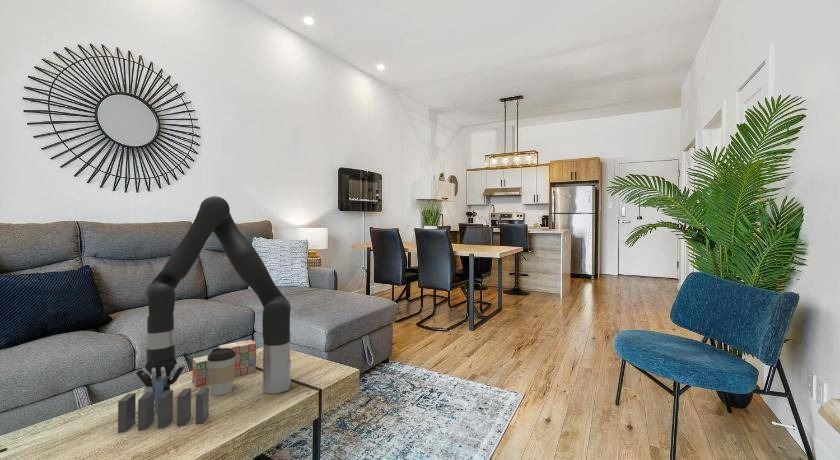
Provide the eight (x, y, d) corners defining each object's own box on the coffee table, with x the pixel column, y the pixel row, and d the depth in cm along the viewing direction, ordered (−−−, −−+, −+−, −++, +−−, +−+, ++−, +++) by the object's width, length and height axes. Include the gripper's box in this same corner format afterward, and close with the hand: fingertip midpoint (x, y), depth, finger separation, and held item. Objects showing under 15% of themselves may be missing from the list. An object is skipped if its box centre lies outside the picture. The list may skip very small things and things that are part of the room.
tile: (169, 401, 118) (168, 374, 118) (162, 409, 113) (161, 382, 113) (162, 402, 118) (161, 375, 117) (155, 410, 113) (154, 382, 112)
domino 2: (154, 420, 109) (154, 391, 109) (145, 429, 104) (146, 399, 104) (146, 421, 109) (146, 392, 109) (138, 430, 104) (138, 399, 104)
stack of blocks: (196, 388, 132) (196, 354, 132) (192, 382, 136) (192, 350, 136) (256, 372, 146) (256, 342, 146) (250, 367, 151) (251, 338, 151)
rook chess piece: (147, 404, 119) (148, 380, 119) (137, 402, 120) (137, 379, 120) (160, 397, 124) (160, 374, 124) (149, 396, 125) (149, 373, 125)
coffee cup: (241, 387, 132) (241, 347, 132) (220, 398, 123) (220, 355, 123) (222, 384, 135) (222, 344, 135) (200, 394, 126) (201, 352, 126)
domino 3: (172, 418, 110) (173, 389, 110) (165, 427, 106) (165, 397, 106) (165, 419, 110) (165, 390, 110) (157, 428, 105) (157, 397, 105)
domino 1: (135, 422, 108) (135, 393, 108) (126, 431, 103) (126, 400, 103) (127, 423, 108) (127, 393, 108) (117, 432, 103) (118, 401, 103)
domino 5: (208, 415, 113) (208, 386, 113) (203, 423, 108) (203, 393, 108) (201, 415, 112) (201, 387, 112) (195, 424, 107) (195, 394, 107)
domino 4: (190, 416, 112) (191, 388, 112) (184, 425, 107) (184, 395, 107) (183, 417, 111) (183, 388, 111) (176, 426, 106) (177, 396, 106)
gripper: (189, 339, 120) (189, 390, 120) (142, 342, 117) (142, 395, 117) (180, 346, 113) (180, 400, 113) (129, 350, 110) (130, 406, 110)
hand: (161, 397), depth 115 cm, fingers closed on tile, 1 cm apart
